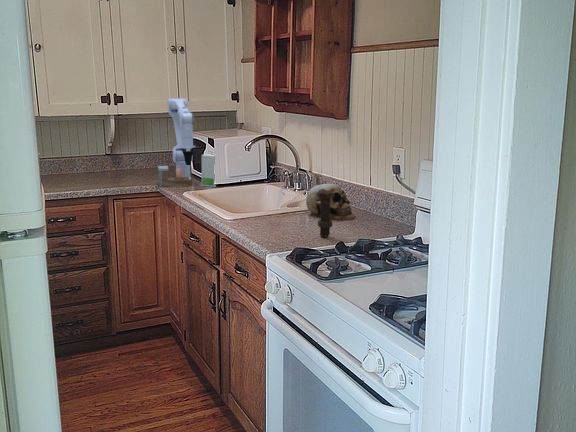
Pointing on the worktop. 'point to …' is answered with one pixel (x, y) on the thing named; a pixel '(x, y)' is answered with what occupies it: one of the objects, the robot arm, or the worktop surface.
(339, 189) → the grey skull
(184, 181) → the socket block
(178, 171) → the peg
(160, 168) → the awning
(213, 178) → the skincare box
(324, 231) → the bolt
